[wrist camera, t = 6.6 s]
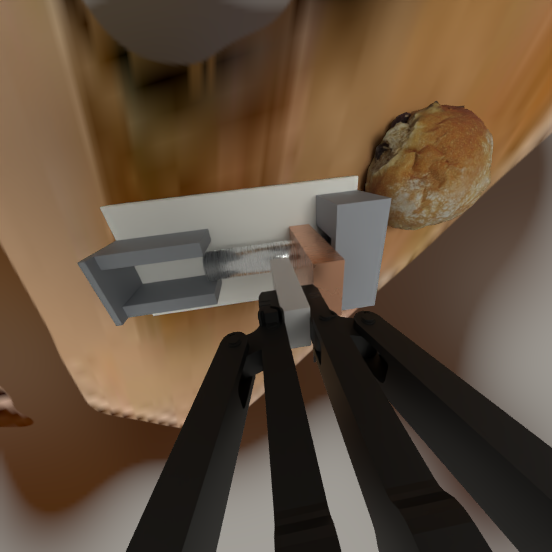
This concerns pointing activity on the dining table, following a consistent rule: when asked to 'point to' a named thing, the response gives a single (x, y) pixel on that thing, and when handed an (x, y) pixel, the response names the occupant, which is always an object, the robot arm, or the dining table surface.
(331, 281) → the slip tube
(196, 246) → the guide base
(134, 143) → the dining table surface
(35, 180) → the dining table surface
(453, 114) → the bread roll
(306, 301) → the robot arm
